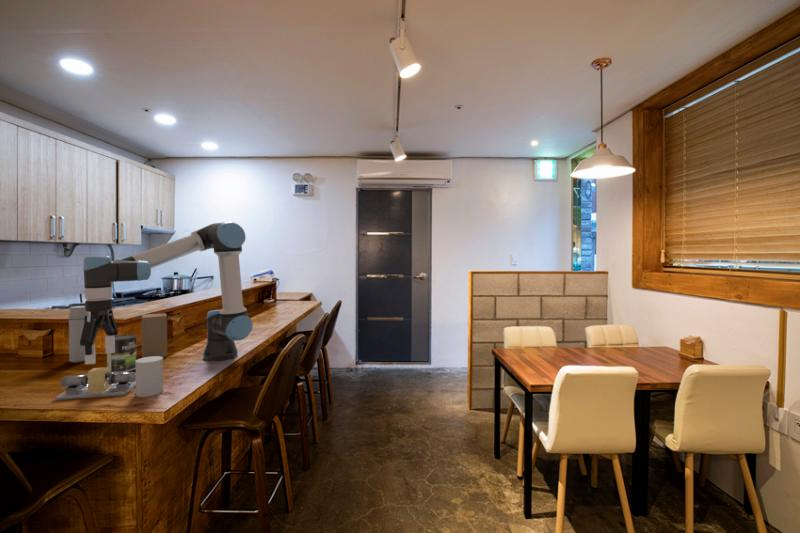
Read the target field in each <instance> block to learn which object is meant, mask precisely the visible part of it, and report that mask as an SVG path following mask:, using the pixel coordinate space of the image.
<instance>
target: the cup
mask: <svg viewBox="0 0 800 533" xmlns="http://www.w3.org/2000/svg"><path fill="white" fill-rule="evenodd" d="M135 374H136V378H135V381H136V387H135V396H136V397H140V398H147V397H152V396H157V395H159V394H161V393H163V391H164V357H161V356H151V357H144V358H142V357H141V358H137V360H136V369H135Z"/></svg>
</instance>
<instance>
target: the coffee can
mask: <svg viewBox="0 0 800 533" xmlns="http://www.w3.org/2000/svg"><path fill="white" fill-rule="evenodd" d="M137 338H138V336H137V335H136V334H120V335H115V353H106V367H110V373H111V372H115V373H127V372H133V371H134V370H135V371H136V360H137V359H138V358H137V357H138V355H137V346H138V345H137V343H138V342H137V341H138V340H137Z"/></svg>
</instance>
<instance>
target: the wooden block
mask: <svg viewBox="0 0 800 533" xmlns="http://www.w3.org/2000/svg"><path fill="white" fill-rule="evenodd" d="M151 356H161V357H163V358H165V357H166V358H167V357H168V316H167V314H166V312H165V313H164V312H163V313H150V314H149V313H147V314H142V315H141V358H144V357H151Z"/></svg>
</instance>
